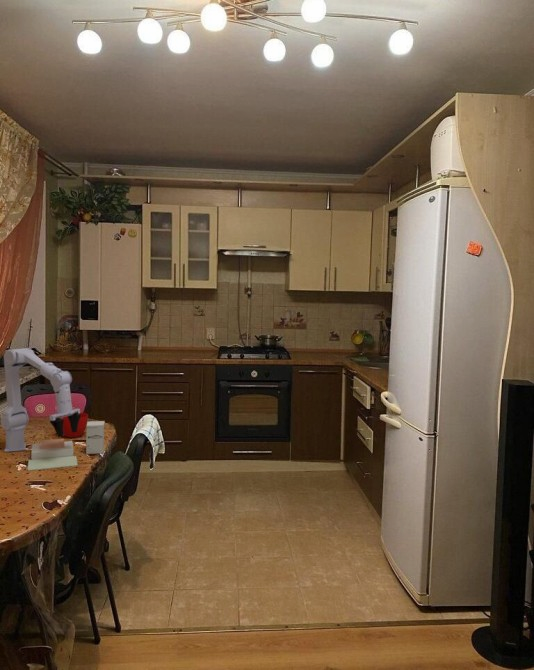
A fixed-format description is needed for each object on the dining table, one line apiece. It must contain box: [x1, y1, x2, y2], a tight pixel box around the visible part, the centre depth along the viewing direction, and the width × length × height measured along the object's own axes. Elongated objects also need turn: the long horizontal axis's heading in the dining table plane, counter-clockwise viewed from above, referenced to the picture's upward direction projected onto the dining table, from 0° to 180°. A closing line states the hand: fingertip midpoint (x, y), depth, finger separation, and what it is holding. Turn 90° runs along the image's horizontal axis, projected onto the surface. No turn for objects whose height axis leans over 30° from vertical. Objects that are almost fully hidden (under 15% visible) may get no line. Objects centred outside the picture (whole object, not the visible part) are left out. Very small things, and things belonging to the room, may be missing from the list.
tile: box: [40, 438, 65, 449], centre depth 216 cm, size 6×9×2 cm, turn 113°
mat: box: [26, 455, 78, 472], centre depth 203 cm, size 12×18×1 cm, turn 113°
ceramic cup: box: [60, 411, 89, 438], centre depth 244 cm, size 13×17×10 cm
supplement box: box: [85, 420, 106, 455], centre depth 220 cm, size 7×7×13 cm
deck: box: [30, 440, 75, 460], centre depth 215 cm, size 13×16×3 cm
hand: (67, 434), depth 207 cm, fingers open, 7 cm apart
